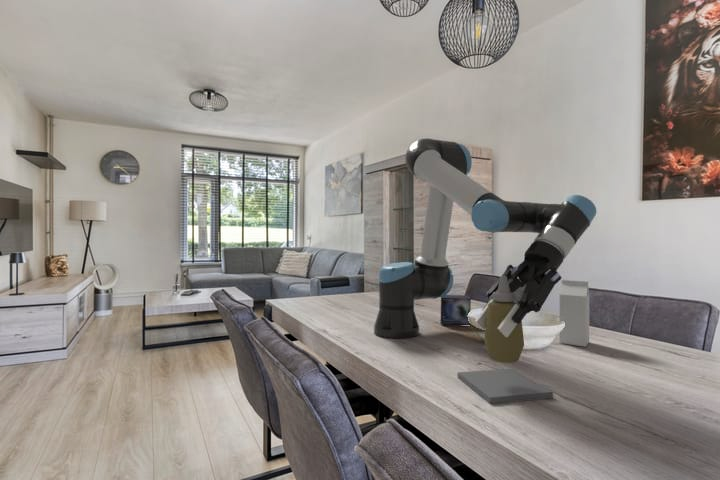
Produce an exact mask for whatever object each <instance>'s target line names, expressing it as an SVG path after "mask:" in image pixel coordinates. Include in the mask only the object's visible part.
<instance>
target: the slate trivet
mask: <svg viewBox="0 0 720 480" xmlns="http://www.w3.org/2000/svg"><path fill="white" fill-rule="evenodd" d="M457 378H458V379H459V380H460V381H461V382H462V383H464V385H466V386H467V387H469V389H471V390H472V391H474V392H475V394H477V395H478V396H480V397H481V398H482V399H483V400H484V401H486V402H487V403H488V404H500V403H509V402H510V403H511V402H512V403H513V402H520V401H521V402H523V401H531V400H542V399H543V400H544V399H553V398H554V391H552V390H551V389H549V388H547V387H545V386H544V385H542V384H540V383H538V382H537V381H535V380H533V379H531V378H529V377H528V376H526V375H524V373H521V372H520V371H518V370H515V368H499V369H488V370H487V369H485V370H474V371H473V370H471V371H470V370H469V371H459V372H457Z"/></svg>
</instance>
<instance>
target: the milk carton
mask: <svg viewBox="0 0 720 480" xmlns="http://www.w3.org/2000/svg"><path fill="white" fill-rule="evenodd" d="M558 308H559V310H558V311H559V312H558V313H559V317H558V318H559V319H558V320H559V322H561V321H564V322H565V327H564V328H563V330H562V331H561V332H560V333H559V332H558V336H559V337H558V342H559V344H562V345H563V344H564V345H569V346H570V345H571V346H577V347H584V348H585V347H586V348H587V345H588V344H589V343H590V287H589V281H582V280H567V279H565V280H564V279H562V280H561V286H560V290H559V307H558ZM562 317H563V318H562Z"/></svg>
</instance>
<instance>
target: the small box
mask: <svg viewBox="0 0 720 480" xmlns="http://www.w3.org/2000/svg"><path fill="white" fill-rule="evenodd" d="M471 300H472V299H471V297H470V295H462V294H461V295H460V294H446V295H445V296H443V297H440V321H441V322H440V321H439V322H440V325H441V324H443V325H442V326H447V325H470V326H471V322H470V323H469V321H468V317H467V315H468V313H469V312H470V311H471V308H472V307H471V305H472V304H471V303H472V301H471ZM471 312H472V311H471Z"/></svg>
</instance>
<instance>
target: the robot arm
mask: <svg viewBox="0 0 720 480" xmlns="http://www.w3.org/2000/svg"><path fill="white" fill-rule="evenodd" d="M404 161H405V164H406V167H407V170H409V172H410V173H411V174H412V175H413V176H414V177H416V178H417V179H419V180H421V181H425V182H426V183H427V185H428V186H429V189H428V195H427V202H426V203H427V204H426V211H425V217H424V225H423V233H422V239H421V247H420V252H419V253H420V254H419V255H418V256H417V257H416V258H415V260H414V263H413V262H410V261H409V262H408V261H401V262H393V263H388V264H385V265H383V266H381V268H380V269H379V273H378V275H379V277H378V285H379V289H378V292H379V294H378V296H379V300H378V303H379V307H378V311H377V312H378V313H377V315H376V319H375V322H374V325H373V330H374V331H373V333H374V334H375V335H376V334H377V335H376V336H379V335H380V336H379V337H382V336H384V337H383V338H388V339H409V337H410V338H414V337H417V336H419V334H420V326H419V323H418V319H417V316H416V312H415V300H416V301H418V300H428V299H432V300H433V299H438V298H441V297H443V296H445V295H449V293H450V292H451V290H452V288H453V285H454V275H453V272H452V269H451V267H449V264H450V263H449V261H448V260H447V259H446V253H447V247H448V240H449V233H450V227H451V220H452V214H453V213H452V212H453V207H454V203H455V204H456V205H458V206H459V207H460V208H461V209H462V210H464V211H465V212H467V214H469V215H470V216H471V218H470V219H471V221H472V224H473V226H474V228H476V230H479V231H481V232H487V233H492V234H493V233H532V234H533V233H534V234H536V233H537V236H536V237H535V238H534V240H533V242H531V244H530V245H529V246H528V248H527V249H526V250H525V252H524V259H523V261H522V262H521V263H519V264H518V266H513V265H512V264H509V265H507V266H506V269H505V271H504V272H502V275H501V276H507V280H508V284H509V288H510V292H512V293H515V292H516V291H517V290H518V289H520V288H523V287H525V288H524V290H523V291H522V292H523V293H522V295H521V298H520V300H517V302H516V303H517V304H518V305H519V306H520V307H519V306H518V305H517V304H515V305H514V306H513V308H512V309H511V310H510V312H509V313H508V314H507V316H506V317H505V319H504V320H503V321H502V323H501V324H500V325H499V327H498V330H499V331H500V332H501V333H502V334H503V335H504V336H505V337H507V338H508V336H509V335H510V333H511V332H512V331H513V329H514V328H515V326H516V325H517V324H519V323H520V322H521V321H522V322H523V319H524V318H525V316H527V314H529V313H530V312H534V313H538V312H539V311H540V310H542V307H543V305H544V304H545V303H546V300H547V298H548V297H549V295H550V294H551V293H552V290H553V288H554V287H555V285H556V284H557V283H558V282H560V281H562V280H561V279H562V276H561V275H560V273H559V272H558V271H557V270H558V269H559V268H560V266H561V265H562V264H563V262H564V260H565V259H566V258H567V256H568V255H569V254H570V252H571V251H572V249H574V247H575V245H576V244H577V242H578V241H579V240H580V238H581V237H582V236H583V235H584V233H585V232H586V230H587V229H588V228H589V227H590V226H591V224H592V222H593V220H594V218H595V217H596V215H597V207H596V206H595V203H594V202H593V201H592V200H591V199H589V198H588V197H587V196H583V195H581V194H573V195H569V196H568V197H566V198H565V199H564V200H563V201H562V203H541V202H531V201H530V202H529V201H522V202H521V201H509V200H504V199H503V198H501V197H500V196H498V195H496V194H495V193H494V192H492V191H491V190H489V189H487V188H486V187H484V186H483V185H481V184H480V183H478V182H477V181H475V180H474V179H473V178H471V177H469V176H468V174H469V173H470V172H471V168H472V163H473V161H472V155H471V152H470V150H468V147H466V145H463V144H462V143H458V142H455V141H447V140H439V139H435V138H433V139H432V138H420V139H418V140H415V141H414V142H413V143H411V145H410V146H408V148H407V151H406V154H405V159H404ZM501 276H500V277H499V278H498V279H497V280H496V281H495V282H494V284H493V285H492V286H491V287H490V288H489V289H488V290H487V292H486V293H485V295H486V297H487V298H488V301H487V303H485V304H486V305H484V307H483V308H482V310H481V312H480V313H479V315H478V316H477V317H476V318H475V320H474V322H475V323H476V324H477V326H478V327H480V329H481V330H485V329H486V319H487V310H488V304H489V303H490V302H493V301H494V300H493V299H492V293H493V292H497V291H498V287H499V282H500V278H501ZM413 336H414V337H413Z"/></svg>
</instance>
